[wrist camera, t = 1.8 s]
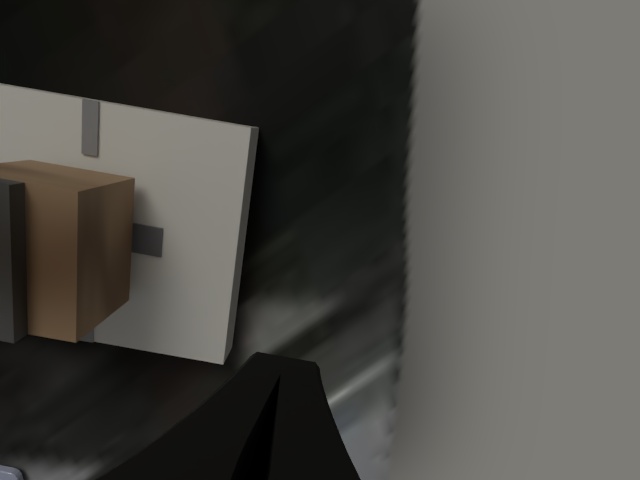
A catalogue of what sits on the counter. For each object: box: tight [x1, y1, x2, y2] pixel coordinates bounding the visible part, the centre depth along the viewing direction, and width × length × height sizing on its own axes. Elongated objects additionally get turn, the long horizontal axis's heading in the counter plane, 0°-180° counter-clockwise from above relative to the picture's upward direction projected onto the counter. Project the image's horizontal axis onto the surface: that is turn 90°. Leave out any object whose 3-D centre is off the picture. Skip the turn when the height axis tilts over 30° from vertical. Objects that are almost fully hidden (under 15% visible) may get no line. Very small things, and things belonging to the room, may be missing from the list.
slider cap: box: [0, 160, 135, 343], centre depth 14 cm, size 5×4×4 cm
